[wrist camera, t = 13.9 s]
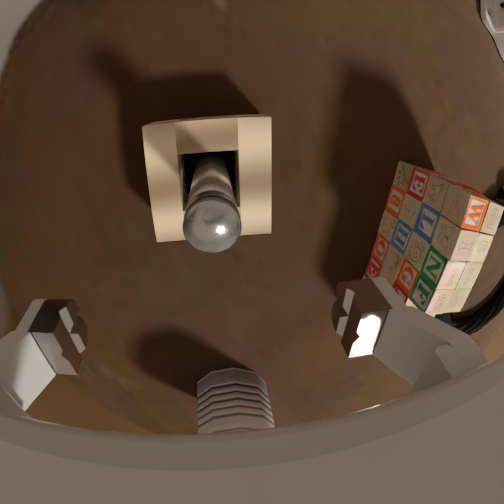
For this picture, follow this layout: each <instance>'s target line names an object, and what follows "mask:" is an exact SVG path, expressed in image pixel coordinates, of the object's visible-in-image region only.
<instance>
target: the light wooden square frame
mask: <svg viewBox="0 0 504 504" xmlns="http://www.w3.org/2000/svg"><path fill="white" fill-rule="evenodd" d="M142 132H143V143H144V153H145V162H146V171H147V179H148V186H149V194H150V201H151V208H152V214H153V221H154V227H155V233H156V239H157V242H164V241H176V240H186V238H185V236H184V233H183V220H184V215H185V210H186V207H187V204H188V199H189V194H190V193H187V190H186V179H185V168H184V155H183V154H190V153H201V152H215V151H230V150H234V162H235V188H236V190H232V191H233V195H234V199H235V203H236V205H237V207H238V211H239V215H240V219H241V224H242V229H241V233H240V235H251V234H265V233H271V117H269V116H266V115H262V114H250V115H225V116H209V117H196V118H185V119H175V120H167V121H158V122H153V123H150V124H147V125H145V126H142Z"/></svg>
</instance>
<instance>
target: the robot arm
mask: <svg viewBox="0 0 504 504" xmlns="http://www.w3.org/2000/svg"><path fill="white" fill-rule="evenodd" d="M481 18H482V21H483V23H484V24H485V26H486V27H487V29H488V30H489V32H490V33H491V34H492V36H493V38H494V40H495V43H496V45H497V48H498V50H499V52H500V55H501V57H502V59H503V61H504V0H481ZM335 293H336V295H337V297H338V299H337V300H336V301H335V302H334V303H333V307H332V322H333V326H334V328H335V331H336V332H337V333H338V334H340V335H341V336H343V337H342V341H341V344H342V346H343V348H344V350H345V352H346V354H347V356H348V358H351V357H356V356H362V355H367V354H372V353H373V354H372V355H373V356H375V357H376V358H377V359H379V360H380V361H381V362H382V363H384V364H385V365H386V366H388V367H389V368H390V369H392V370H393V371H394V372H395V373H397V374H398V375H399V376H401V377H402V378H403V379H405V380H406V381H407V382H408V383H410V384H411V385H412V386H413V387H412V389H411V390H410V392H409V393H408V395H407V396H404V397H402V398H399V399H395V400H392V401H389V402H386V403H383V404H379V405H376V406H373V407H369V408H365V409H362V410H358V411H354V412H350V413H346V414H342V415H338V416H333V417H329V418H324V419H320V420H315V421H309V422H304V423H298V424H293V425H286V426H280V427H273V428H265V429H257V430H248V431H238V432H225V433H209V434H139V433H123V432H112V431H102V430H93V429H86V428H78V427H72V426H66V425H60V424H55V423H49V422H45V421H40V420H35V419H32V418H31V417H30V416H29V415H28V414H27V413H26V412H25V410H26V409H27V408H28V407H29V406H30V404H31V403H32V402H33V401H34V400H35V398H36V397H37V396H38V395H39V394H40V393H41V391H42V390H43V389H44V388H45V387H46V386H47V385H48V383H49V382H50V381H51V380H52V379H53V378H54V377H55V375H56V374H72V375H77V374H78V371H79V367H80V364H81V361H82V357H81V355H80V353H81V352H82V351H83V350H84V349H85V348H86V346H87V342H88V330H87V326H86V324H85V321H84V320H83V319H82V318H81V317H80V316H79V315H78V312H79V307H78V305H77V303H76V301H75V300H73V299H35V300H33V302H32V303H31V305H30V307H29V308H28V310H27V312H26V313H25V315H24V317H23V318H22V320H21V322H20V324H19V325H18V327H17V329H16V331H12V332H10V333H9V334H8V335H6V336H5V337H4V338H2V339H1V340H0V504H504V353H503V354H501V355H499V356H498V357H496V358H494V359H492V360H490V361H488V360H487V359H486V357H485V356H484V354H483V353H482V352H481V350H480V349H479V348H478V346H477V345H476V344H475V342H474V341H473V340H472V338H471V337H470V336H469V335H468V334H466V333H464V332H462V331H460V330H458V329H456V328H454V327H452V326H450V325H448V324H446V323H444V322H442V321H440V320H438V319H436V318H434V317H433V316H431V315H429V314H427V313H425V312H423V311H421V310H419V309H417V308H415V307H413V306H407V305H406V304H405V303H404V301H403V300H402V299H401V298H400V296H399V295H398V294H397V292H396V291H395V290H394V289H393V287H392V286H391V285H390V284H389V282H388V281H387V280H386V279H385V278H384V277H382V276H377V277H371V278H367V279H359V280H351V281H342V282H339V283H338V285H337V287H336V292H335ZM55 373H56V374H55Z"/></svg>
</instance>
